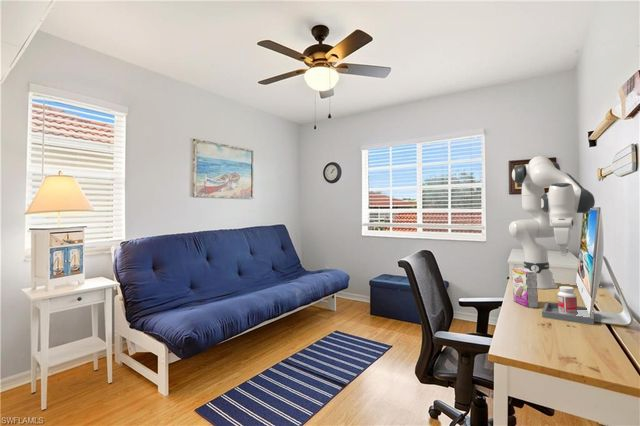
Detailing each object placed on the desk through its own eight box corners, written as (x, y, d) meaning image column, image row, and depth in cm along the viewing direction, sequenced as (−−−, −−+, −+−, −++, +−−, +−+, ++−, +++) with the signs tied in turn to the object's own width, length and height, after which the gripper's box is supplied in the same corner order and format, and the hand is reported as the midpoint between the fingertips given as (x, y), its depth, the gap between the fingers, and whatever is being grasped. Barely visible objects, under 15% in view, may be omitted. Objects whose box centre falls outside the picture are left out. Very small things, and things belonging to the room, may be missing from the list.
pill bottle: (580, 313, 126) (578, 287, 126) (574, 317, 123) (572, 289, 123) (561, 310, 131) (560, 285, 132) (556, 313, 128) (554, 287, 128)
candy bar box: (512, 301, 149) (511, 268, 149) (523, 301, 149) (521, 267, 149) (528, 308, 138) (526, 272, 138) (539, 307, 138) (537, 271, 138)
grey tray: (546, 307, 138) (546, 302, 138) (593, 313, 127) (593, 307, 127) (542, 317, 126) (542, 311, 126) (594, 325, 116) (593, 318, 116)
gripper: (555, 220, 137) (557, 250, 137) (551, 222, 122) (552, 257, 122) (573, 220, 133) (575, 251, 133) (571, 222, 118) (573, 258, 118)
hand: (564, 254), depth 127 cm, fingers open, 8 cm apart
